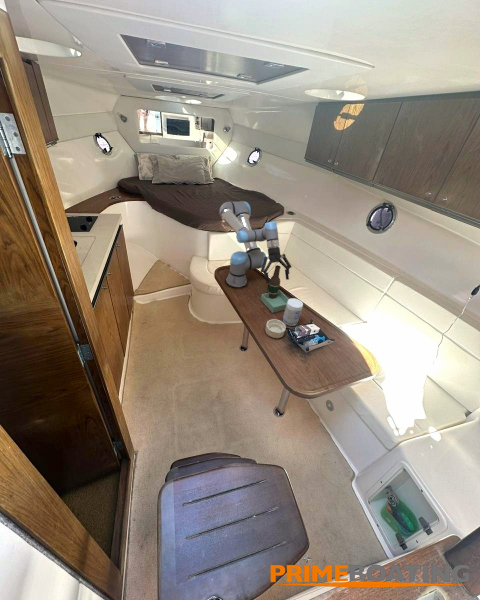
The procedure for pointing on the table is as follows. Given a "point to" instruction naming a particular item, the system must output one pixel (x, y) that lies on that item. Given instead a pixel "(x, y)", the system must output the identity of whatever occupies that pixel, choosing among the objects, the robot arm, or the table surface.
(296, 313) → the supplement tub
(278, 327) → the cream ribbed bowl
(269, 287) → the brown glass bottle
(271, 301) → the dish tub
